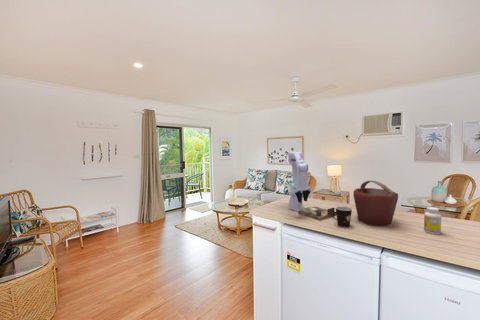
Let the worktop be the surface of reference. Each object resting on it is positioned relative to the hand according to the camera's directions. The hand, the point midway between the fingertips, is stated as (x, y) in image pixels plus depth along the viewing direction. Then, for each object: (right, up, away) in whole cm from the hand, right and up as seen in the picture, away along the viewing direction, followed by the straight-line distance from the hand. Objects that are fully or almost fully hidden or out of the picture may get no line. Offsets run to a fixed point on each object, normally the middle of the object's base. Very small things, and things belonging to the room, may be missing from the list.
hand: (302, 201), depth 141 cm
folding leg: (+6, -8, +4) cm, 10 cm away
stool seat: (+12, -10, +6) cm, 16 cm away
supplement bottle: (+60, -11, -28) cm, 67 cm away
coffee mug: (+18, -11, -15) cm, 26 cm away
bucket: (+40, -10, -10) cm, 43 cm away
